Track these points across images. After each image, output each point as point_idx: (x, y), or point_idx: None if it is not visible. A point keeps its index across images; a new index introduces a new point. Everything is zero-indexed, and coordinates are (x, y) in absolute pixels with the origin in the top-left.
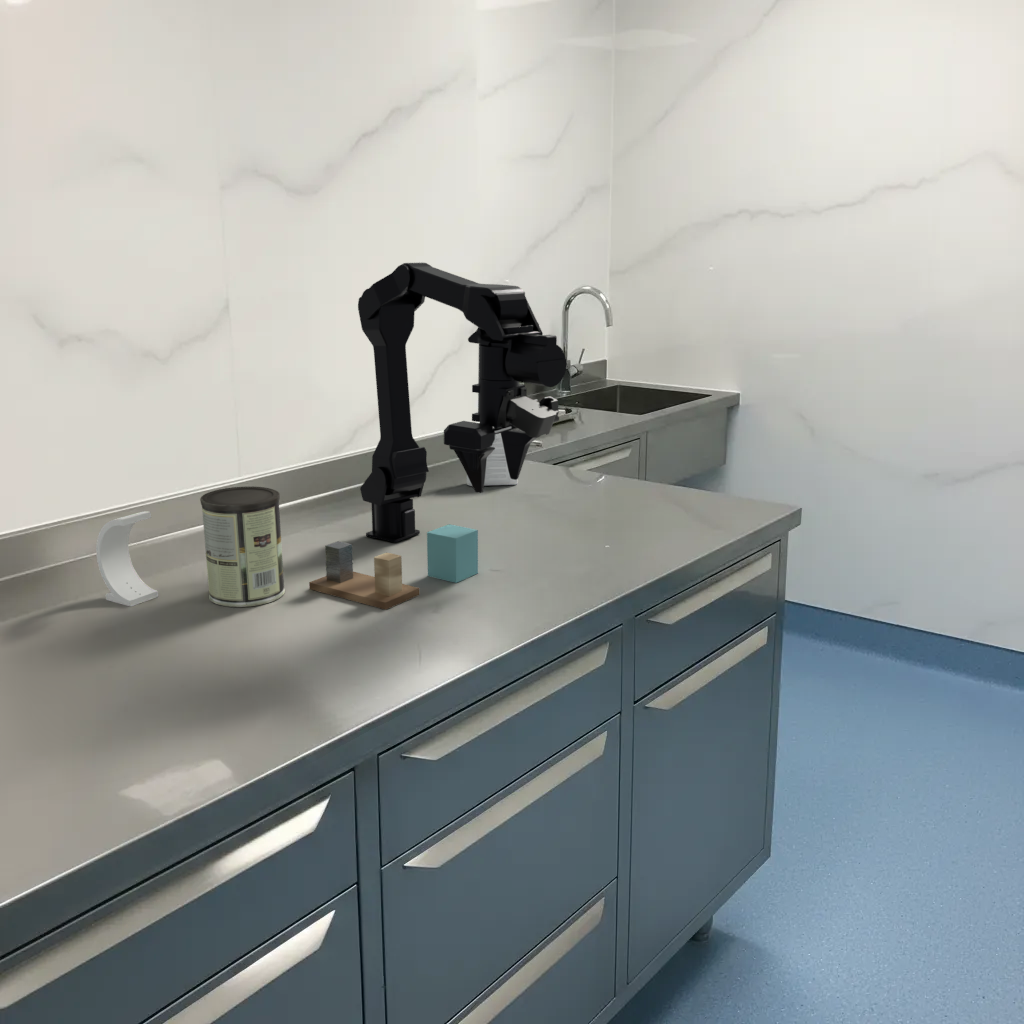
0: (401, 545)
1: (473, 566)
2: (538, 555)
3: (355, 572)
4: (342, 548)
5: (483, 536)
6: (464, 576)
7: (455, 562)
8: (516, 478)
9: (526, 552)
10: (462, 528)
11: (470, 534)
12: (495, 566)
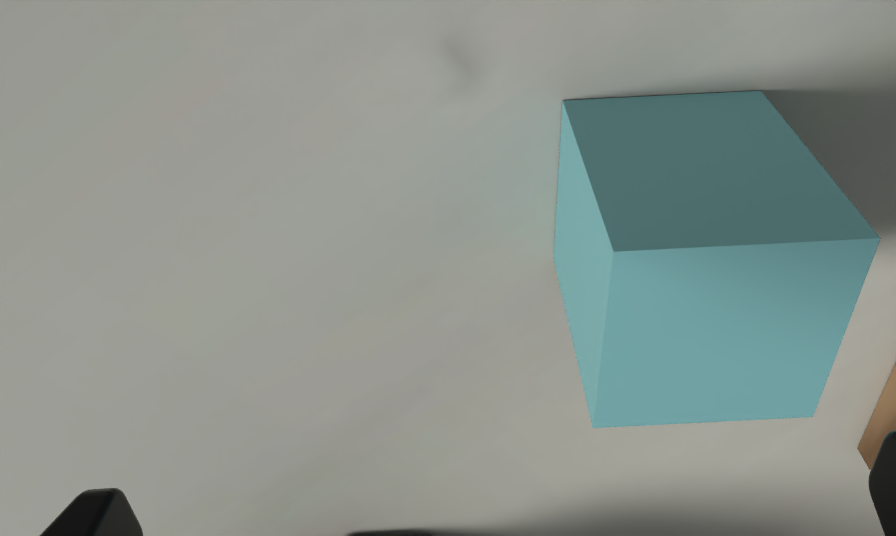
0: (437, 513)
1: (613, 122)
2: (56, 29)
3: (893, 427)
4: None
5: (91, 399)
6: (691, 101)
7: (806, 151)
8: (113, 497)
9: (80, 118)
10: (636, 334)
11: (700, 239)
12: (403, 100)
